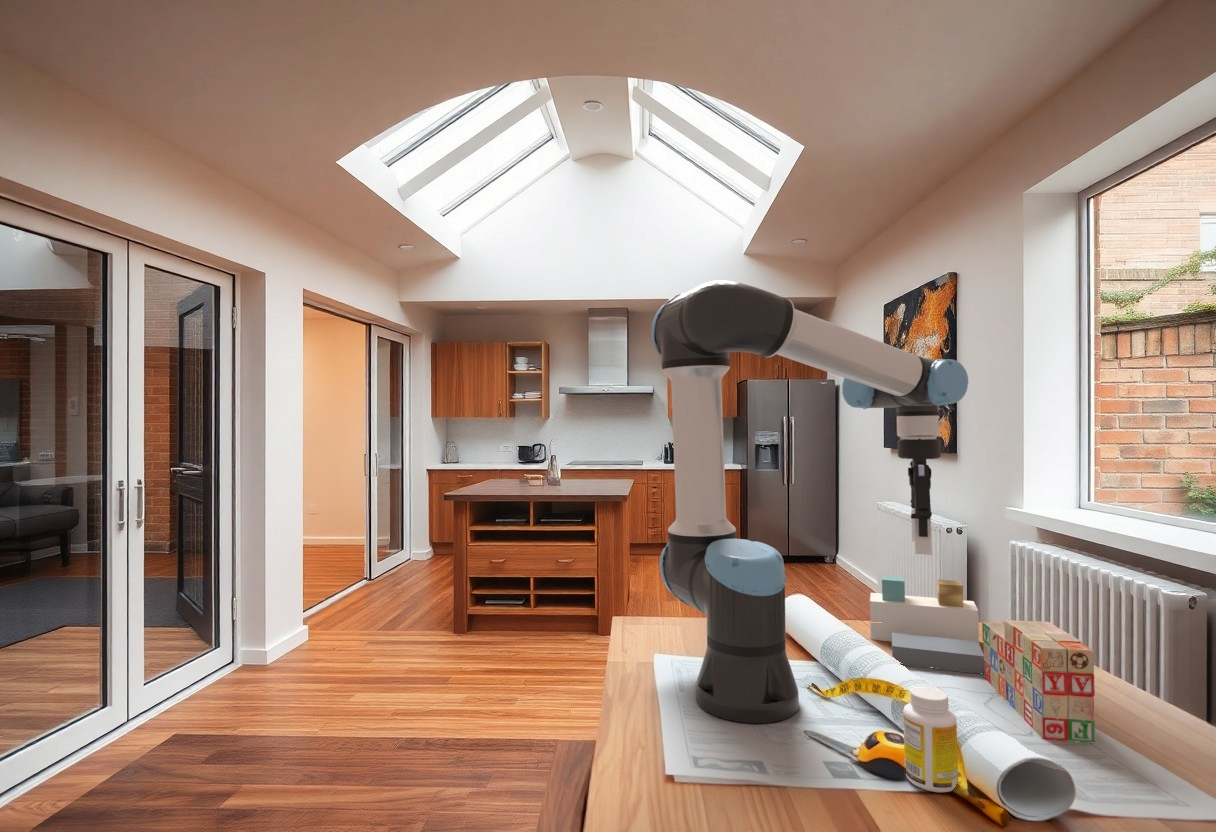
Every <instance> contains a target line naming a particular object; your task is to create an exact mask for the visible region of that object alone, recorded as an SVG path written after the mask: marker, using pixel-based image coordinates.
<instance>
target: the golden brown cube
mask: <svg viewBox="0 0 1216 832" xmlns="http://www.w3.org/2000/svg"><path fill="white" fill-rule="evenodd" d="M936 582H937V583H936V586H937V588H936V589H937V594H936V596H937V597H936V598H938V603H939V605H942V606H953V607H963V600H964V586H963V583H962V581H961V580H952V579H951V580H949V579H936Z"/></svg>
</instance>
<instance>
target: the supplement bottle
mask: <svg viewBox="0 0 1216 832" xmlns="http://www.w3.org/2000/svg"><path fill="white" fill-rule="evenodd" d="M909 692H910V694H909V695H910V696H909V703H907V704H905V705H904V707H903V710H902V712H903V713H902V714H903V715H902V716H903V717H902V719H903V748H904V749H903V750H904V751H903V753H904V754H903V755H904V757H905V758H904V757H903V758H904V767H905V766H906V774H905V776H906V778H907V779H908V781H909V782H911V784H913V785H914V786H916V787H918V788H919V789H922V790H925V791H929V792H932V793H933V792H934V793H949V792H952V791H954V790H955V789H954V787H955V785H956V784H957V782H958V783H959V769H958V768H959V766H958V764H959V762H958V761H959V760H958V731H957V729H958V728H957V716H956V715H955V713H954V712H953V711H952V710H951V709H950V708H949V705H950V703H949V696H948V694H947V693H946V692H945V691H943V690H941V689H939V688H935V687H932V686H931V687H929V686H915V687H912V688H911V689H910V691H909ZM953 789H954V790H953Z"/></svg>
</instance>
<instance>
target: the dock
mask: <svg viewBox="0 0 1216 832" xmlns="http://www.w3.org/2000/svg"><path fill="white" fill-rule="evenodd" d="M891 654H892V655H891V658H892V657H894V658H895V659H896V660H898V661H899V662H901V663H903V664H905V665H904V666H910V667H919V668H926V667H933V668H932V669H934V668H938V669H937V670H944V671H953V672H959V671H960V672H961V673H967V672H972V673H971V674H975V673H982V674H981V675H984V674H985V672H984V651H983V649H982V648H981V645H980V642H979V643H978V641H968V640H958V639H949V638H939V637H930V636H920V635H911V634H901V633H892V642H891ZM960 672H959V673H960Z"/></svg>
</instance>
